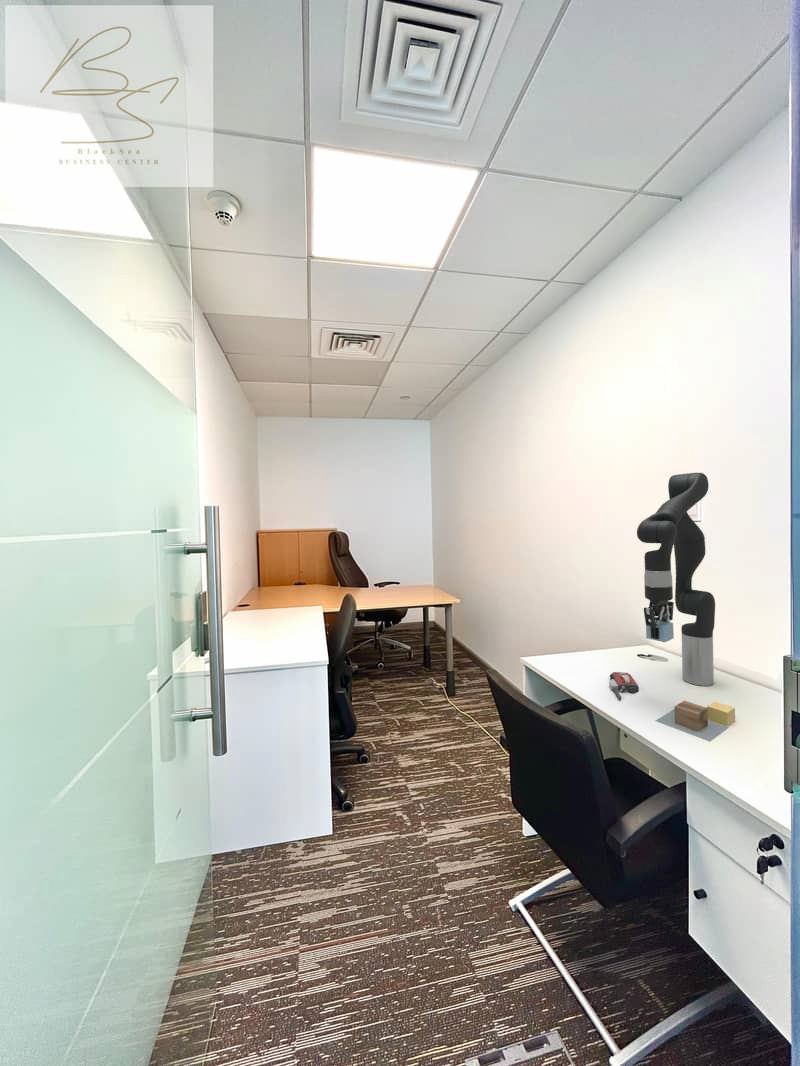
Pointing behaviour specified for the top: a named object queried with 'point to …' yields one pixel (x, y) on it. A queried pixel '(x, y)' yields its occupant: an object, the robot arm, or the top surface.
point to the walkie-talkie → (622, 683)
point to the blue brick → (662, 631)
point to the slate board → (706, 733)
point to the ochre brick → (721, 713)
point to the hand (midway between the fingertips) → (659, 636)
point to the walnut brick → (691, 715)
